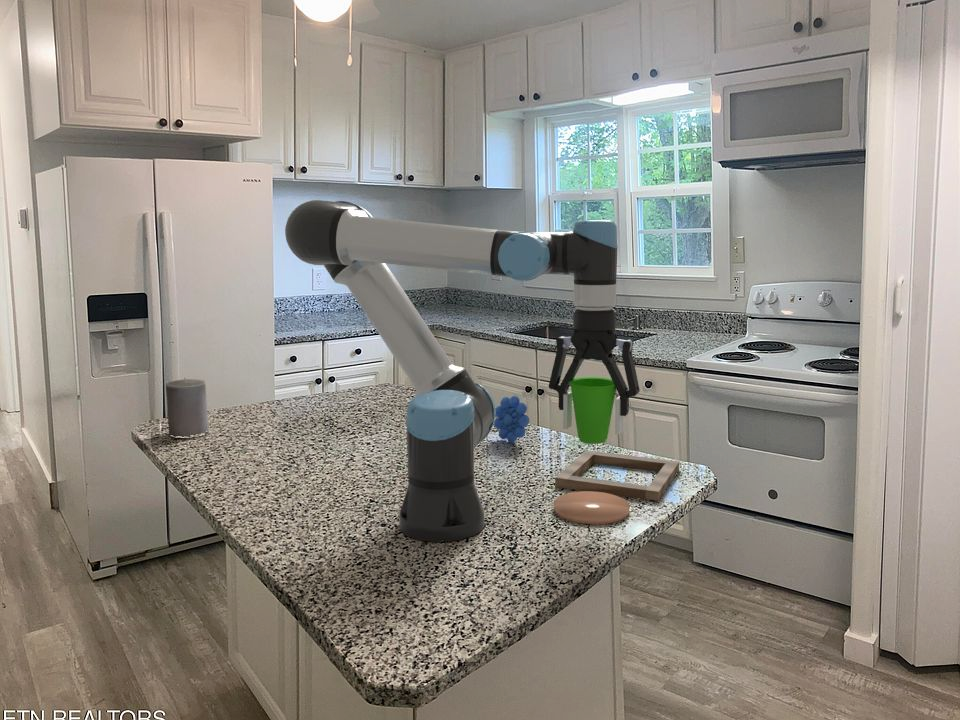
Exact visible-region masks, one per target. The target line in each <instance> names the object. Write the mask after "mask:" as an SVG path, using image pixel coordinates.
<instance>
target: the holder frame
mask: <svg viewBox="0 0 960 720" xmlns="http://www.w3.org/2000/svg"><path fill="white" fill-rule="evenodd" d="M593 464H596V465H597V464H598V465H605V466H613V467H618V468H619V467H621V468H628V469H636V470H644V471H645V470H646V471H653V472H658V473H657V474H656V476H655V477H654V478H653V480H651V482H650V483H649V485H643V484H636V483H630V482H629V483H628V482H621V481H614V480H606V479H601V478H600V479H599V478H598V479H597V478H592V477H585V476H583V477H582V474H584V473H585V472H586V471H587V470H588V469H589V468H590V467H591V466H592V465H593ZM679 471H680V461H678V460H671V459H669V460H668V459H662V458H652V457H643V456H638V455H637V456H635V455H627V454H620V453H619V454H618V453H611V452H605V451H603V452H601V451H594V450H585V451H584V452H583V453H581V454H580V455H579V456H578V457H577V458H575V460H573V461H572V462H571V463H570V464H569V465H568V466H566V467H565V468H564V469H563V470H562V471H561V472H560V473H558V475H556V476H555V477H554V487H555V488H559V489H566V490H573V489H574V490H575V491H579V492H580V491H594V492H603V493H608V494H612V495H616V496H618V497H621V498H624V497H625V498H629V497H631V498H630V499H636V498H640V499H639V500H643V499H647V500H646V501H650V500H655V501H654V502H657V501H658V502H659V501H660V500H661V498H662V497H663V496H664V494H665V493H666V491H667V489H668V488H669V486H670V485H671V484H672V482H673V480H674V479H675V477H676V476H677V474H678V473H679ZM677 472H678V473H677ZM676 473H677V474H676ZM675 475H676V476H675ZM673 478H674V479H673ZM671 481H672V482H671ZM669 484H670V485H669ZM667 487H668V488H667ZM666 488H667V489H666ZM665 490H666V491H665ZM663 493H664V494H663ZM661 496H662V497H661ZM632 497H633V498H632ZM659 499H660V500H659Z"/></svg>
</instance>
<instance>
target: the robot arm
mask: <svg viewBox="0 0 960 720" xmlns="http://www.w3.org/2000/svg"><path fill="white" fill-rule="evenodd" d="M617 229H618V227H617V224H616V223H615V222H614V221H613V220H607V219H605V220H604V219H603V220H602V219H601V220H600V219H599V220H593V219H592V220H577V221H575V223H574V225H573V229H572V230H573V231H565V232H561V231H560V232H559V231H556V232H555V231H514V230H501V229H500V230H499V229H494V228H481V227H474V226H473V227H472V226H463V225H451V224H441V223H432V222H422V221H412V220H401V219H391V218H381V217H374V216H373V215H372V214H371V213H370V212H369V211H368V210H367V209H365V208H364V207H363V206H360V205H358V204H356V203H354V202H350V201H347V200H346V201H345V200H338V201H337V200H336V201H330V200H321V199H318V200H317V199H316V200H314V199H313V200H309V201H305V202H303V203H301V204H299V205H298V206H296V207H295V208H294V209H293V210H292V211H291V213H290V215H289V216H288V217H287V220H286V223H285V227H284V234H285V241H286V243H287V246H288V248H289V249H290V251H291V252H292V253H293V255H294V256H295V257H296V258H298V259H299V260H301V261H302V262H305V263H306V264H309V265H313V266H324V268H325V269H326V271H327V273H328V274H329V275H330V277H331V278H332V280H333V281H334V283H336V284H340V285H344V286H346V287H347V288H348V289H349V292H350V293H351V294H352V296H353V297H354V299H355V301H357V303H358V305H359V306H360V307H361V309H362V311H363V312H364V314H365V315H366V317H367V319H368V320H369V321H370V323H371V324H372V326H373V328H375V330H376V332H377V333H378V335H379V336H380V338H381V340H382V341H383V342H384V344H385V345H386V347H387V349H388V350H389V352H390V353H391V355H392V356H393V358H394V359H395V360H396V362H397V363H398V365H399V367H400V368H401V369H402V371H403V372H404V374H405V375H406V377H407V379H408V380H409V382H410V383H411V384H412V386H413V387H414V389H415V394H414V397H413V398H412V399H411V400H409V402H408V404H407V407H406V416H405V427H406V448H407V453H406V454H407V473H408V474H407V476H408V477H407V478H408V479H407V480H408V483H407V488H406V491H405V494H404V499H403V502H402V505H401V509H400V511H399V514H398V515H399V517H398V518H399V523H398V525H399V530H400V532H402V533H403V534H404V535H405V536H407V537H409V538H411V539H414V540H420V541H424V542H432V543H433V542H435V543H436V542H437V543H438V542H439V543H440V542H441V543H442V542H453V541H460V540H465V539H467V538H471V537H473V536H476V535H477V534H479V533H480V532H481V531H482V530H483V529H484V528H485V509H484V508H483V505H482V502H481V499H480V497H479V493H478V490H477V487H476V484H475V449H476V447H477V446H478V445H479V444H480V442H482V441H484V439H485V438H487V436H488V435H489V434H490V432H491V430H492V428H493V426H494V421H495V420H496V403H495V401H494V398H493V396H492V394H491V393H490V392H489V390H487V388H485V386H484V385H482V384H479V383H478V382H475V381H474V380H473V378H472V377H471V376H470V374H469V372H468V371H467V370H466V368H465V367H463V366H458V365H454V364H453V362H452V361H451V360H450V358H449V356H448V355H447V354H446V352H445V350H444V349H443V347H442V346H441V344H440V343H439V341H438V340H437V339H436V337H435V336H434V334H433V333H432V330H430V327H428V325H427V323H426V322H425V320H424V319H423V317H422V316H421V315H420V313H419V312H418V310H417V308H416V307H415V305H414V304H413V302H412V301H411V299H410V298H409V296H408V294H406V292H405V290H404V289H403V287H402V286H401V284H400V283H399V281H398V280H397V278H396V277H395V275H394V274H393V272H392V270H391V269H390V267H389V266H388V265H396V266H406V267H414V268H416V267H417V268H424V269H432V270H433V269H434V270H444V271H454V272H461V273H462V272H463V273H471V274H481V275H491V276H496V277H505V278H510V279H513V280H516V281H520V282H521V281H523V282H524V281H525V282H527V281H529V282H530V281H532V280H535V279H536V278H538V277H540V276H543V275H573V305H574V306H575V307H576V308H575V309H574V310H573V315H572V316H573V319H572V320H573V321H572V322H573V325H572V326H573V327H572V328H573V329H572V330H573V331H572V335H571V336H565V335H562V336H558V337H557V338H556V339H555V344H556V353H555V357H554V362H553V366H552V370H551V374H550V379H549V382H548V389H549V390H554V391H556V392H557V394H558V409H559V411H562V412H563V415H562V416H563V417H562V422H563V423H562V424H563V425H562V426H563V427H562V429H563V430H568V429H569V428H570V427H572V425H573V418H572V416H573V398H572V391H569V390H570V388H571V385H570V384H569V383H568V382H569V381H571V380H573V379H575V378H576V375H577V374H578V372H579V369H580V367H581V366H582V364H583V362H584V361H585V360H586V361H587V360H595V361H602V363H603V365H604V366H605V368H606V370H607V372H608V374H609V377H610V379H612V381H613V383H614V385H615V387H616V392H617V394H618V396H617V397H616V398H615V400H614V403H615V408H614V409H615V410H614V435H617V436H618V435H619V436H620V435H621V434H622V433H623V432H624V417H626V416H627V415H628V414H629V412H630V411H629V410H630V408H629V407H630V405H629V404H630V397H635V396H637V395H638V394H639V393H640V390H641V389H640V386H639V385H640V384H639V379H638V376H637V375H638V374H637V371H636V365H635V362H634V357H633V347H634V341H633V340H632V339H620V338H618V336H617V332H616V324H617V322H616V321H617V315H616V314H617V311H616V309H614V307H615V306H616V305H617V277H618V276H617V275H618V272H617V269H618V247H619V246H618V230H617ZM571 344H572V346H573V347H574V349H575V350H576V353H574V354H575V355H574V357H573V358H572V362H571V363H570V365H569V367H568V369H567V371H566V373H565V375H564V377H563V379H562V381H561V378H562V373H563V371H564V366H565V361H566V358H567V353H568V352H567V351H568V348H570V346H571ZM616 346H617V347H618V350H619V352H620V353H621V357H622V362H623V366H624V367H623V368H624V371H625V372H624V373H625V377H626V381H627V382H625V379H624V378H623V375H622V373H621V371H620V369H619V367H618V365H617V362H616V359H615V355H614V354H613V352H612V351H613V350H614V349H615V348H616ZM626 383H627V384H626Z"/></svg>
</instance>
